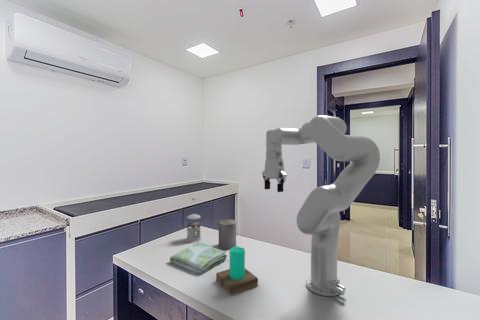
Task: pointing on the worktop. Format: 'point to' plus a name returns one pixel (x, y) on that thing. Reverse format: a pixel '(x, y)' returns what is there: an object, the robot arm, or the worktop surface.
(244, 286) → the walnut base
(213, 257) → the towel
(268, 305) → the worktop surface
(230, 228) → the pillar candle
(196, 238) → the french press
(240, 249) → the candle
